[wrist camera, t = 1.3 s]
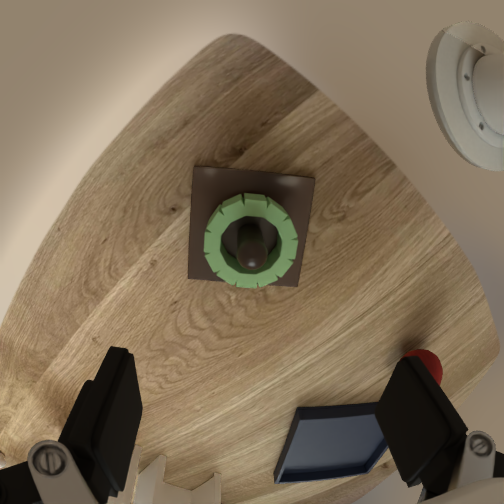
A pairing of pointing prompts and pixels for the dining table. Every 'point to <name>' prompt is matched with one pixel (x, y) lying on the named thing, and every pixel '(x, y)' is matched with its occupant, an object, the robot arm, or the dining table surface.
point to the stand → (247, 218)
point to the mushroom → (2, 460)
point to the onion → (429, 362)
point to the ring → (228, 264)
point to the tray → (330, 444)
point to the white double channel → (163, 486)
